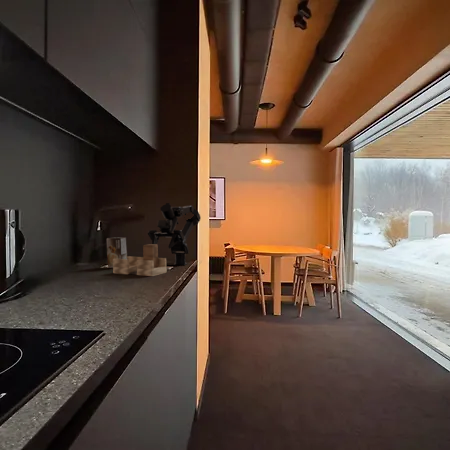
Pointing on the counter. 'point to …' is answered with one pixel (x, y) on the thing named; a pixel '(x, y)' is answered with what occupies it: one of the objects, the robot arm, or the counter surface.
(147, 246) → the walnut block
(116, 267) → the tunnel deck
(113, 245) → the coffee box
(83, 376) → the counter surface
